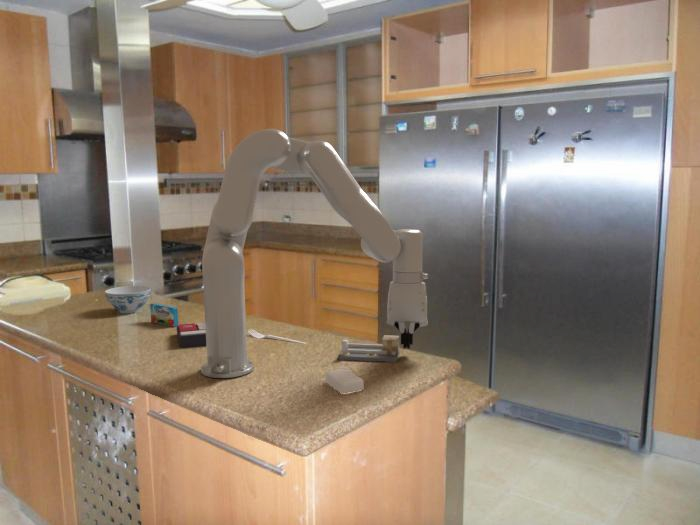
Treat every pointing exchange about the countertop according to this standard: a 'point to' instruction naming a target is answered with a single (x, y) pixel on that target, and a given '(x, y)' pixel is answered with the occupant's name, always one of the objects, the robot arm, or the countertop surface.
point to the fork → (257, 335)
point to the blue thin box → (164, 314)
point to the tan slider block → (390, 344)
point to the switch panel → (365, 352)
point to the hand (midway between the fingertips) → (406, 346)
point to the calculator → (191, 335)
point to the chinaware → (128, 297)
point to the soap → (344, 381)
